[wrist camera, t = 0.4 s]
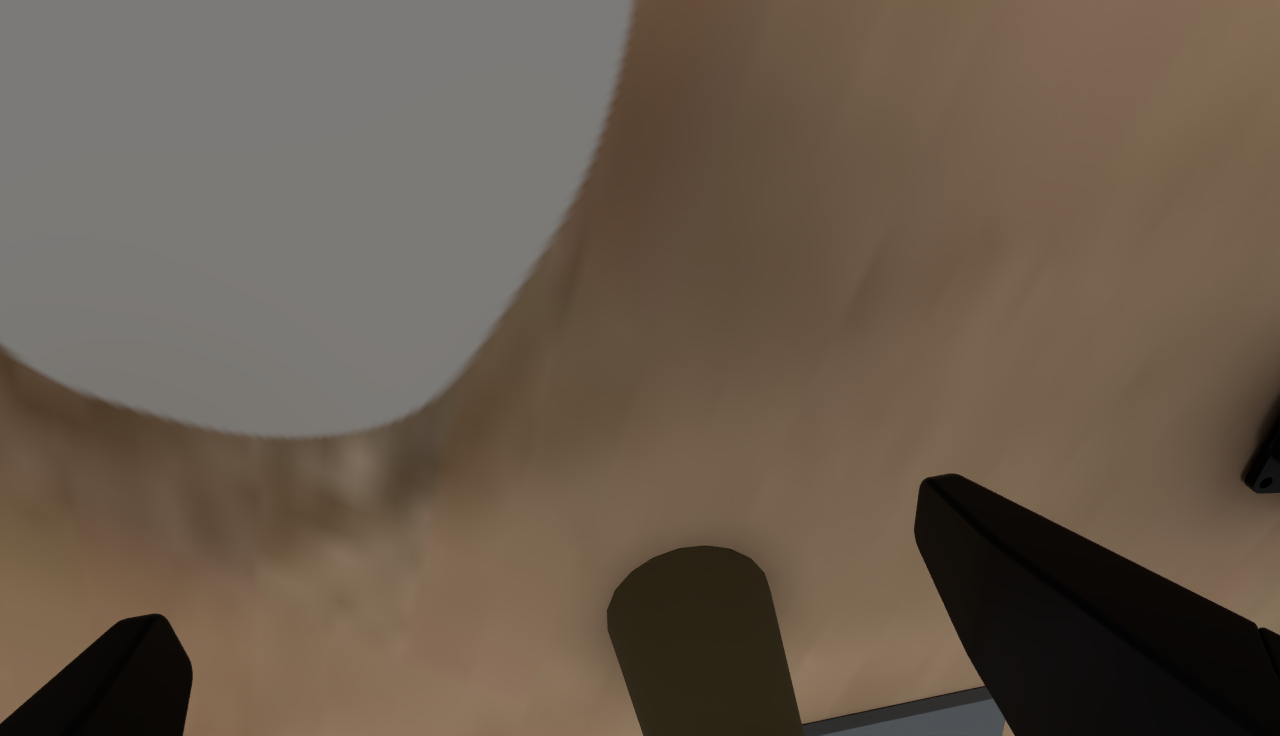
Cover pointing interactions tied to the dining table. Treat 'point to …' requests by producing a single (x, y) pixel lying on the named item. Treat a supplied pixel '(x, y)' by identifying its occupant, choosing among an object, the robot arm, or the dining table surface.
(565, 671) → the dining table surface
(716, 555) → the dark olive bulbous piece
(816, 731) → the slate coaster
